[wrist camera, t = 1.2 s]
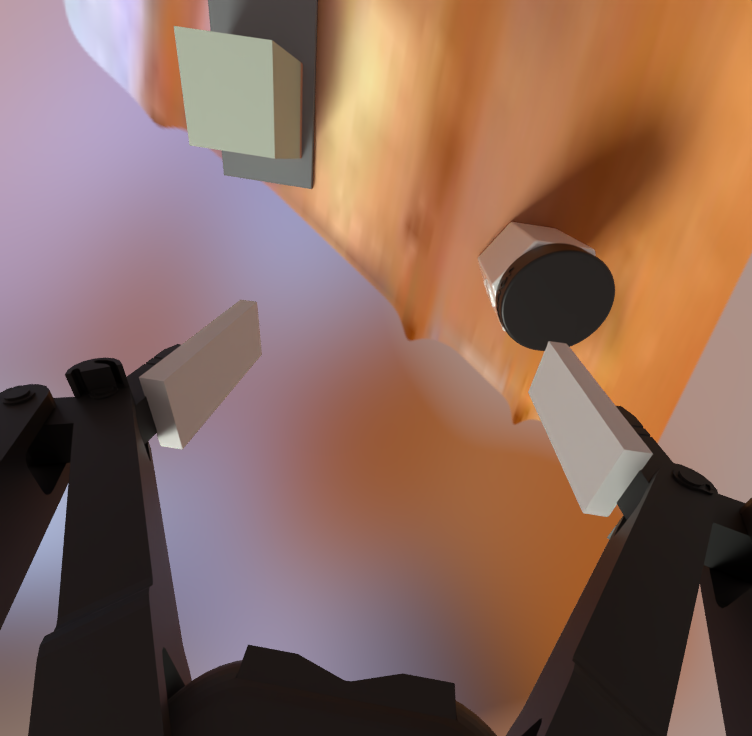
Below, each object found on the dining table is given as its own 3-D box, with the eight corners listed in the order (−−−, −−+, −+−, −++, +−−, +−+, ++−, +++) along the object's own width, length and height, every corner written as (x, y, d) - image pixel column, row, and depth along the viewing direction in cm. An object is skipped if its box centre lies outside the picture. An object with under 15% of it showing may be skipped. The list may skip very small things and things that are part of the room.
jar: (469, 237, 36) (487, 269, 25) (553, 204, 33) (610, 225, 23) (490, 313, 40) (513, 367, 29) (567, 289, 37) (620, 339, 27)
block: (223, 52, 30) (173, 26, 24) (302, 63, 30) (272, 40, 24) (231, 147, 34) (189, 145, 28) (301, 158, 33) (274, 158, 27)
